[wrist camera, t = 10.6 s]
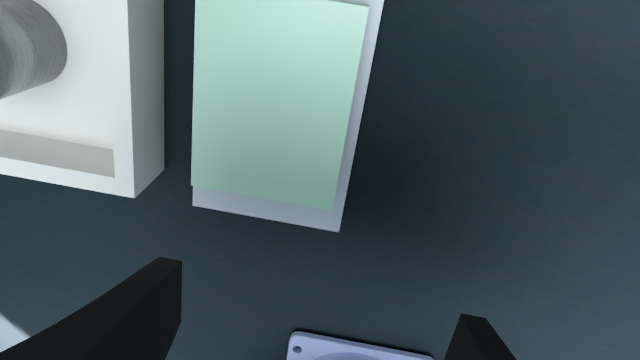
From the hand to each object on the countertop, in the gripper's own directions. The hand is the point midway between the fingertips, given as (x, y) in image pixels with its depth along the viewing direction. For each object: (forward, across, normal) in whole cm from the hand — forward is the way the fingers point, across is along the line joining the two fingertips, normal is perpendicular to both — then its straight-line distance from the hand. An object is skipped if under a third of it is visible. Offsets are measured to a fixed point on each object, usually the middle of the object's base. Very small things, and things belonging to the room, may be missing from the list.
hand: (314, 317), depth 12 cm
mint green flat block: (+8, +3, -3) cm, 9 cm away
